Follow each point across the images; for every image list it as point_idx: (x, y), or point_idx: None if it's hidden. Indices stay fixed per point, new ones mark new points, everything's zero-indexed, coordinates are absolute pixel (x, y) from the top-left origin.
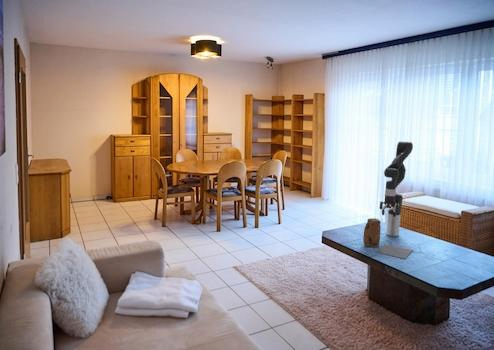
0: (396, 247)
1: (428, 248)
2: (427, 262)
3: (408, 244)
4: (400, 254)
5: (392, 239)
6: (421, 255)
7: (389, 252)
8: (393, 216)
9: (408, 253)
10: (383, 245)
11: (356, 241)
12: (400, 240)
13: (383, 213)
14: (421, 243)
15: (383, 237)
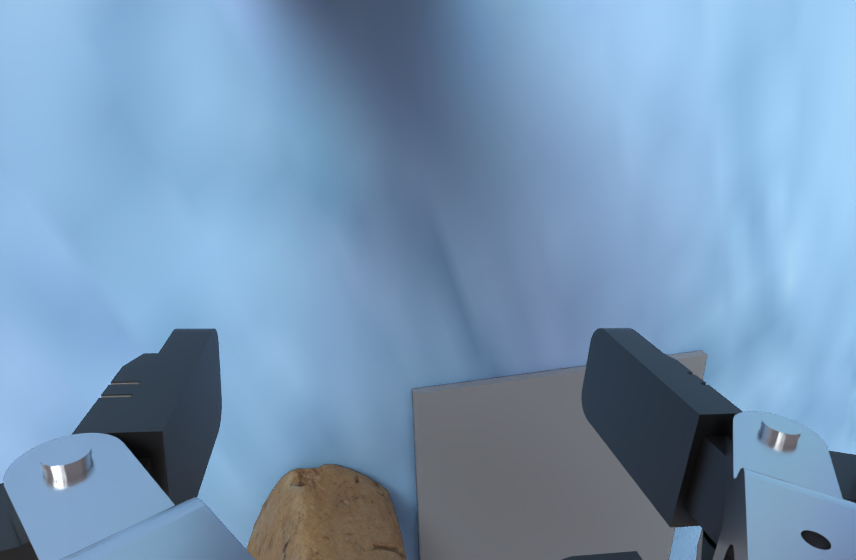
0: (553, 401)
1: (843, 149)
2: None
3: (636, 175)
4: (624, 528)
5: (414, 119)
6: (776, 398)
7: (533, 555)
8: (593, 418)
9: None
10: (422, 445)
11: None
12: (517, 81)
13: (208, 440)
14: (774, 4)
15: (273, 122)
